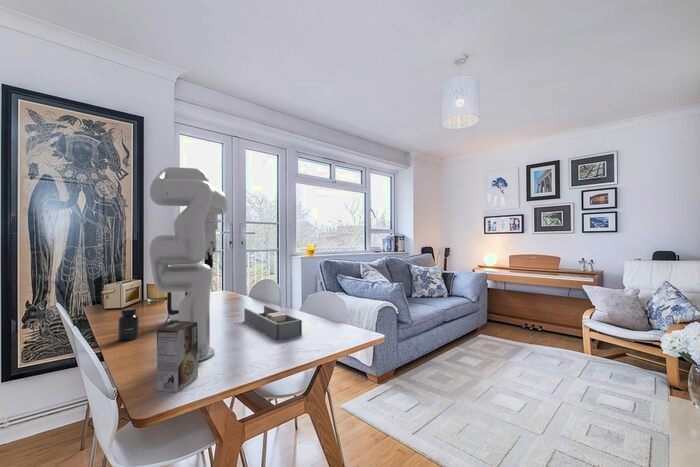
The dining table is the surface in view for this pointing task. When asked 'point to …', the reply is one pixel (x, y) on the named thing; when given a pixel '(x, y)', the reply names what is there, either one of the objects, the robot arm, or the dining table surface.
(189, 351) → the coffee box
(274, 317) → the beech block
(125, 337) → the supplement bottle
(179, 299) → the coffee press
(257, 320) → the trap box
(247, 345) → the dining table surface
